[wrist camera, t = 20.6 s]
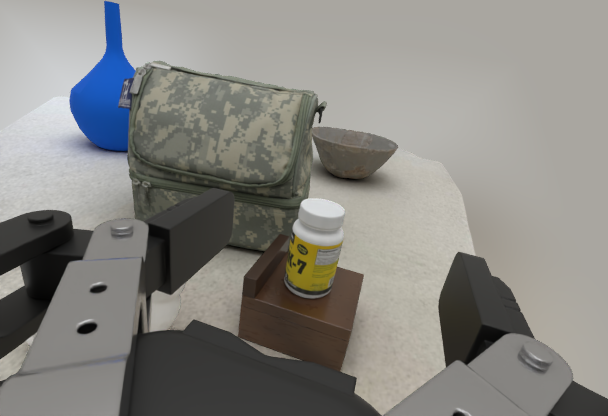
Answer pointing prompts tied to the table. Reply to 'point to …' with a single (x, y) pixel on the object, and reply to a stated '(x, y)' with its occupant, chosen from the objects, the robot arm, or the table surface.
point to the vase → (105, 91)
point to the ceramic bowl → (351, 151)
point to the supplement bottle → (314, 248)
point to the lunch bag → (220, 146)
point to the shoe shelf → (298, 311)
